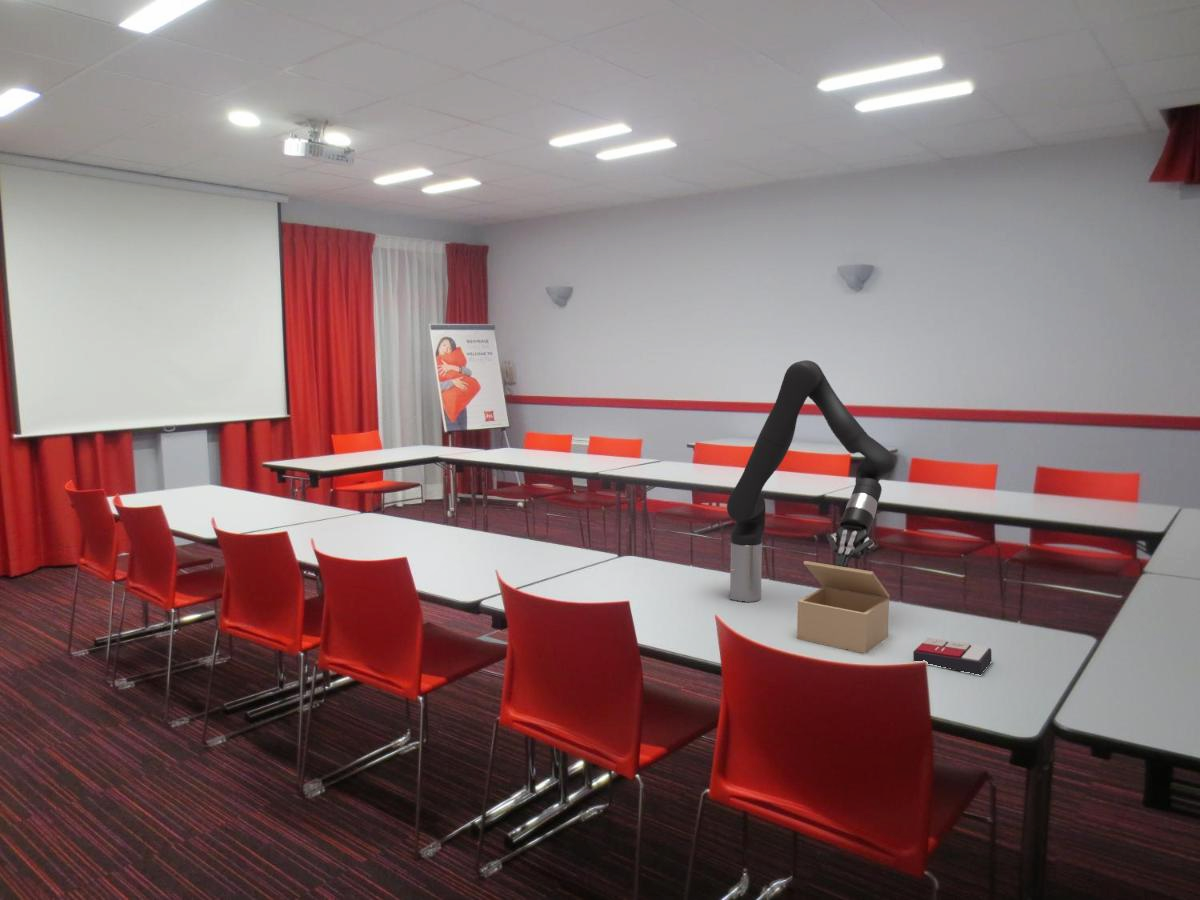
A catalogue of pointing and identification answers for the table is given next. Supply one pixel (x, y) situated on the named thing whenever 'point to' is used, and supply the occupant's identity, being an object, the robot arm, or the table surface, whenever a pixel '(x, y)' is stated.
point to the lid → (847, 579)
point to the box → (843, 619)
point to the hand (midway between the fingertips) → (840, 568)
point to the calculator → (954, 655)
